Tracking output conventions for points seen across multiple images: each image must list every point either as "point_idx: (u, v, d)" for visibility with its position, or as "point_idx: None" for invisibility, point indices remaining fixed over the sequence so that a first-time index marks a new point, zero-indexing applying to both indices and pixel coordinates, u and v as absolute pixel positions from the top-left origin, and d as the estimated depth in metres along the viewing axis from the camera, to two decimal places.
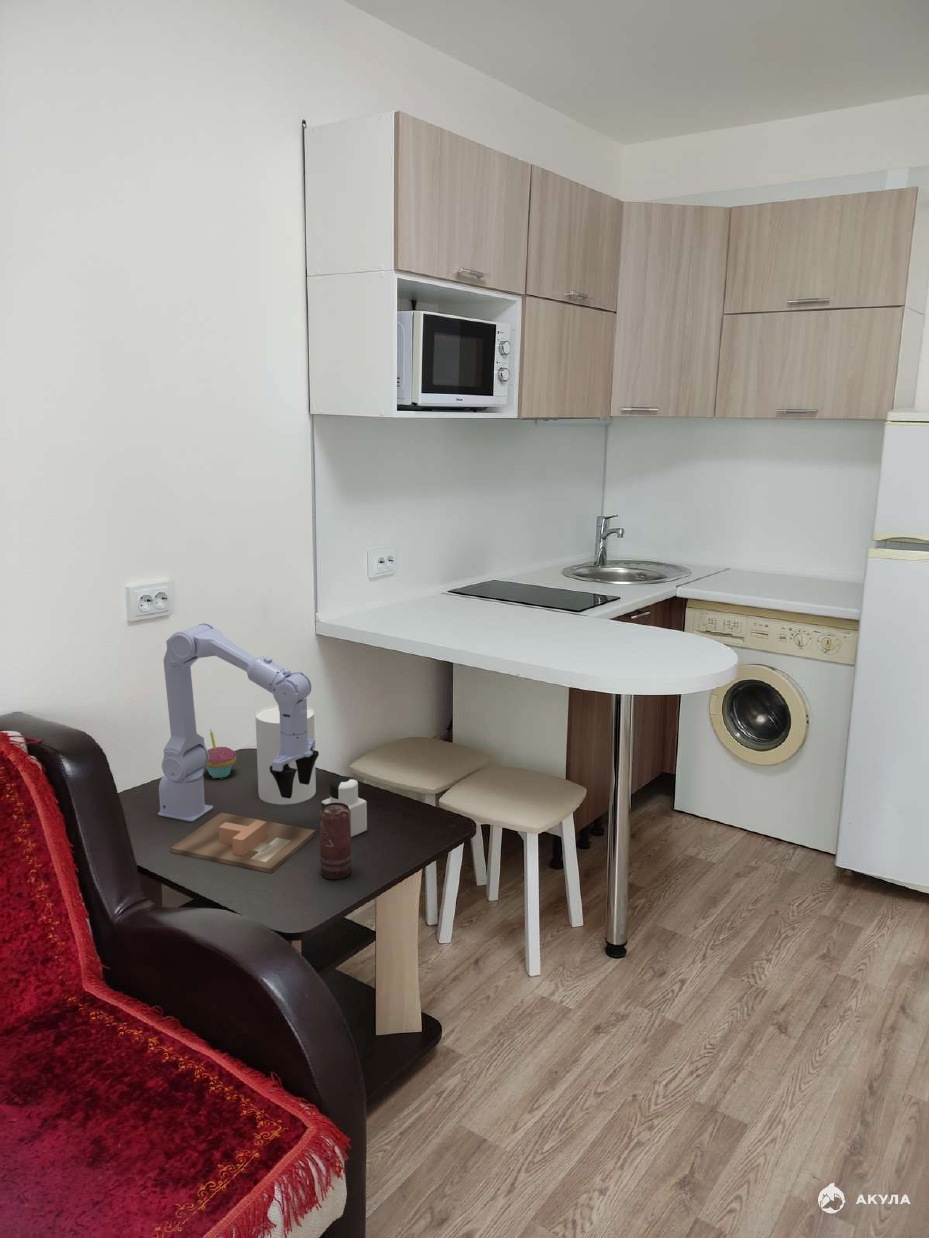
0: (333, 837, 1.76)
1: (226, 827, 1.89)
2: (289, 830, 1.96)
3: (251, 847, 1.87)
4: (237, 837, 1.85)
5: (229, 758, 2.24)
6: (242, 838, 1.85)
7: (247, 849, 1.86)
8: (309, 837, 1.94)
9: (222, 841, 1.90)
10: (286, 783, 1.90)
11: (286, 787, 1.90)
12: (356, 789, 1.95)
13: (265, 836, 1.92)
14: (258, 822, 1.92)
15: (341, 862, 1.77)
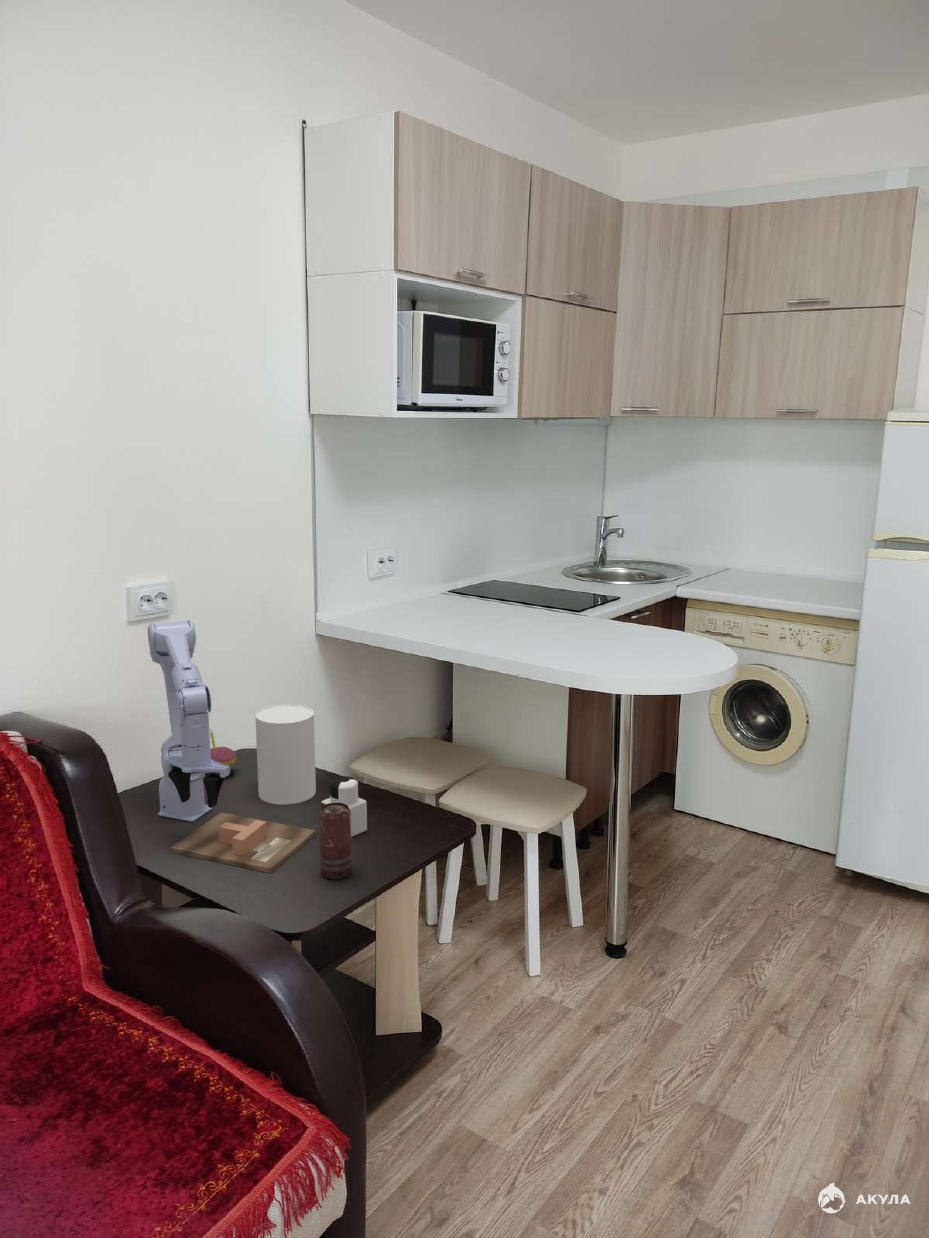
0: (333, 837, 1.76)
1: (226, 827, 1.89)
2: (289, 830, 1.96)
3: (251, 847, 1.87)
4: (237, 837, 1.85)
5: (229, 758, 2.24)
6: (242, 838, 1.85)
7: (247, 849, 1.86)
8: (309, 837, 1.94)
9: (222, 841, 1.90)
10: None
11: None
12: (356, 789, 1.95)
13: (265, 836, 1.92)
14: (258, 822, 1.92)
15: (341, 862, 1.77)
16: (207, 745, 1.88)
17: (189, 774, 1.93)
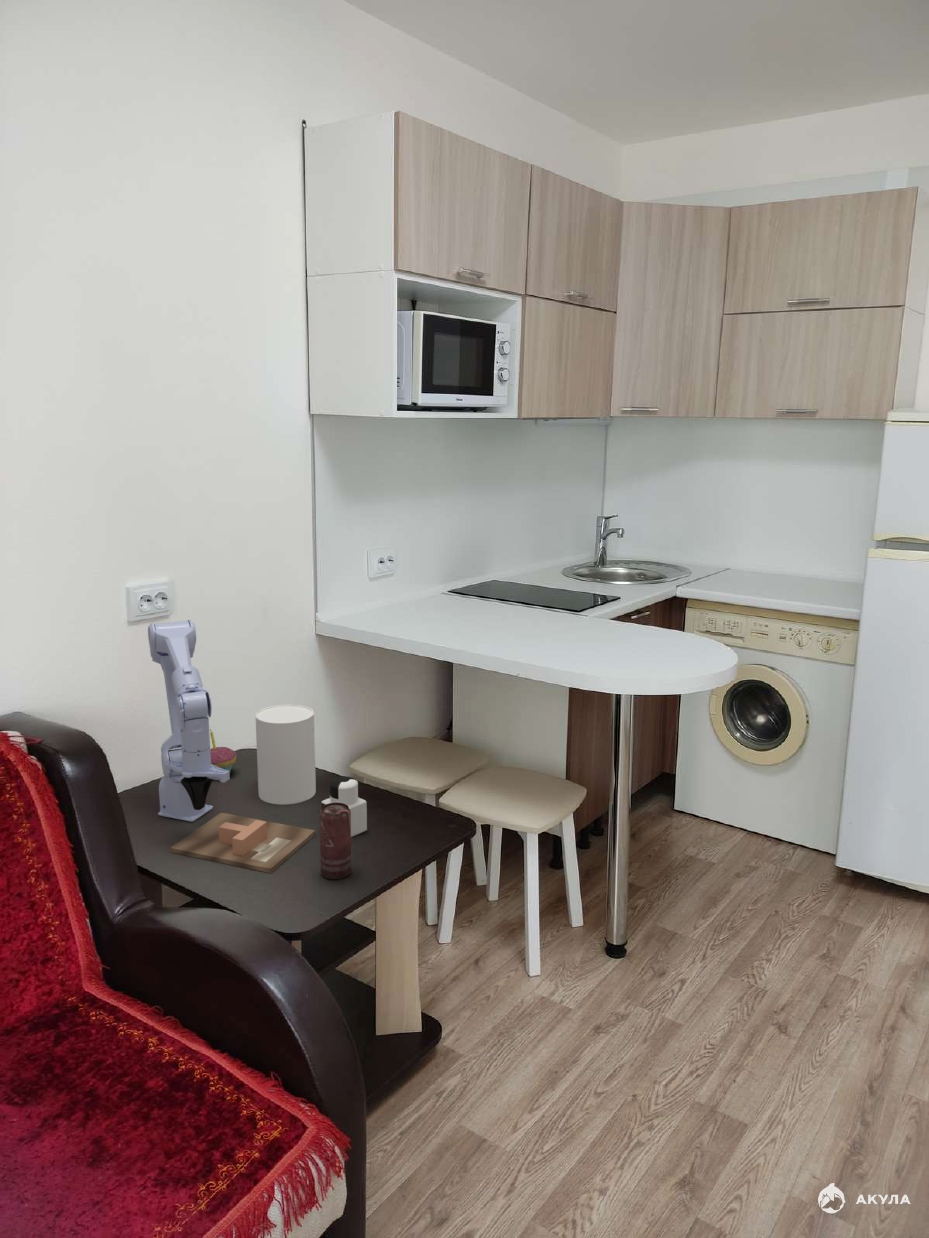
0: (333, 837, 1.76)
1: (226, 827, 1.89)
2: (289, 830, 1.96)
3: (251, 847, 1.87)
4: (237, 837, 1.85)
5: (229, 758, 2.24)
6: (242, 838, 1.85)
7: (247, 849, 1.86)
8: (309, 837, 1.94)
9: (222, 841, 1.90)
10: None
11: None
12: (356, 789, 1.95)
13: (265, 836, 1.92)
14: (258, 822, 1.92)
15: (341, 862, 1.77)
16: (207, 750, 1.88)
17: None
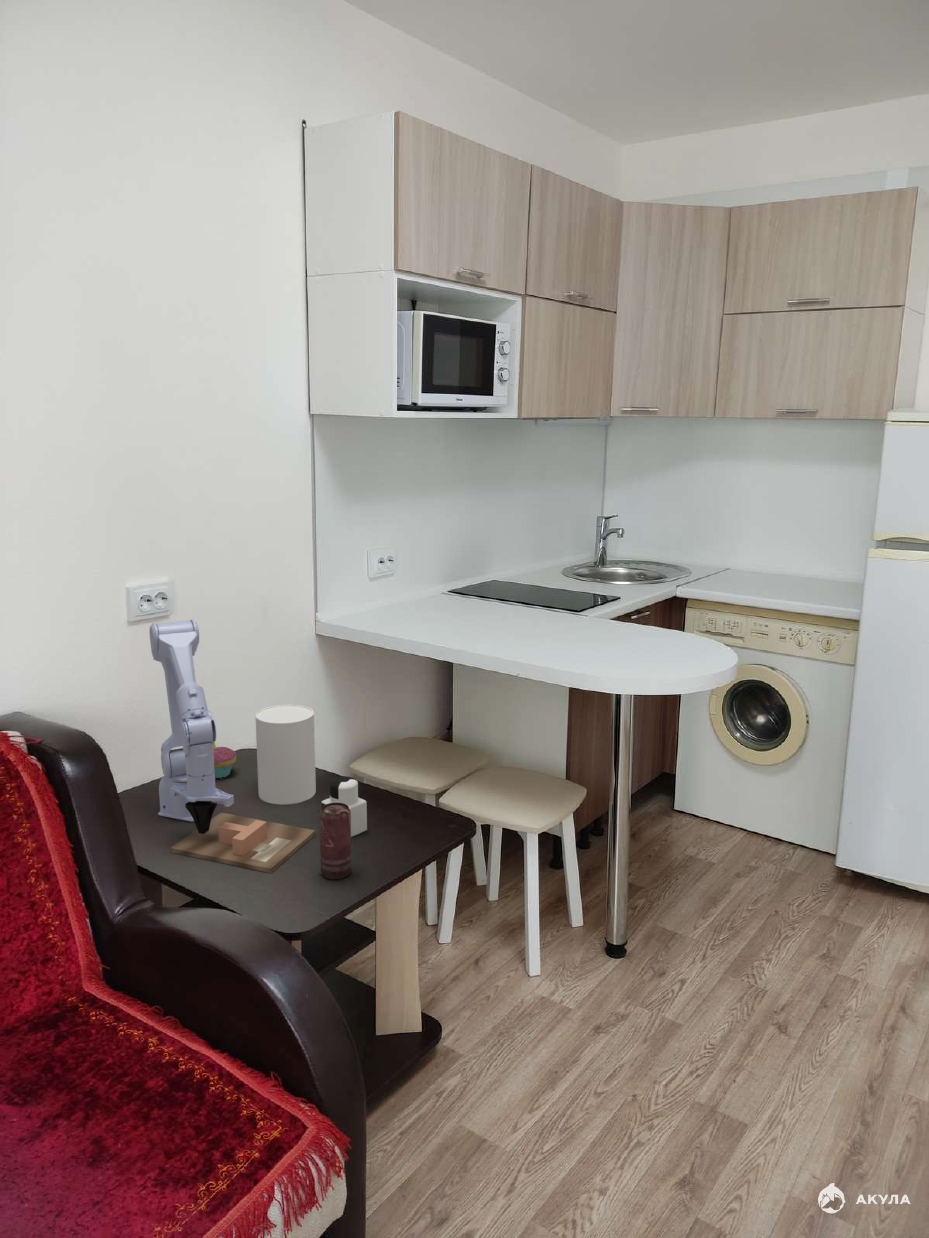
0: (333, 837, 1.76)
1: (226, 827, 1.89)
2: (289, 830, 1.96)
3: (251, 847, 1.87)
4: (237, 837, 1.85)
5: (229, 758, 2.24)
6: (242, 838, 1.85)
7: (247, 849, 1.86)
8: (309, 837, 1.94)
9: (222, 841, 1.90)
10: None
11: None
12: (356, 789, 1.95)
13: (265, 836, 1.92)
14: (258, 822, 1.92)
15: (341, 862, 1.77)
16: (212, 774, 1.89)
17: None
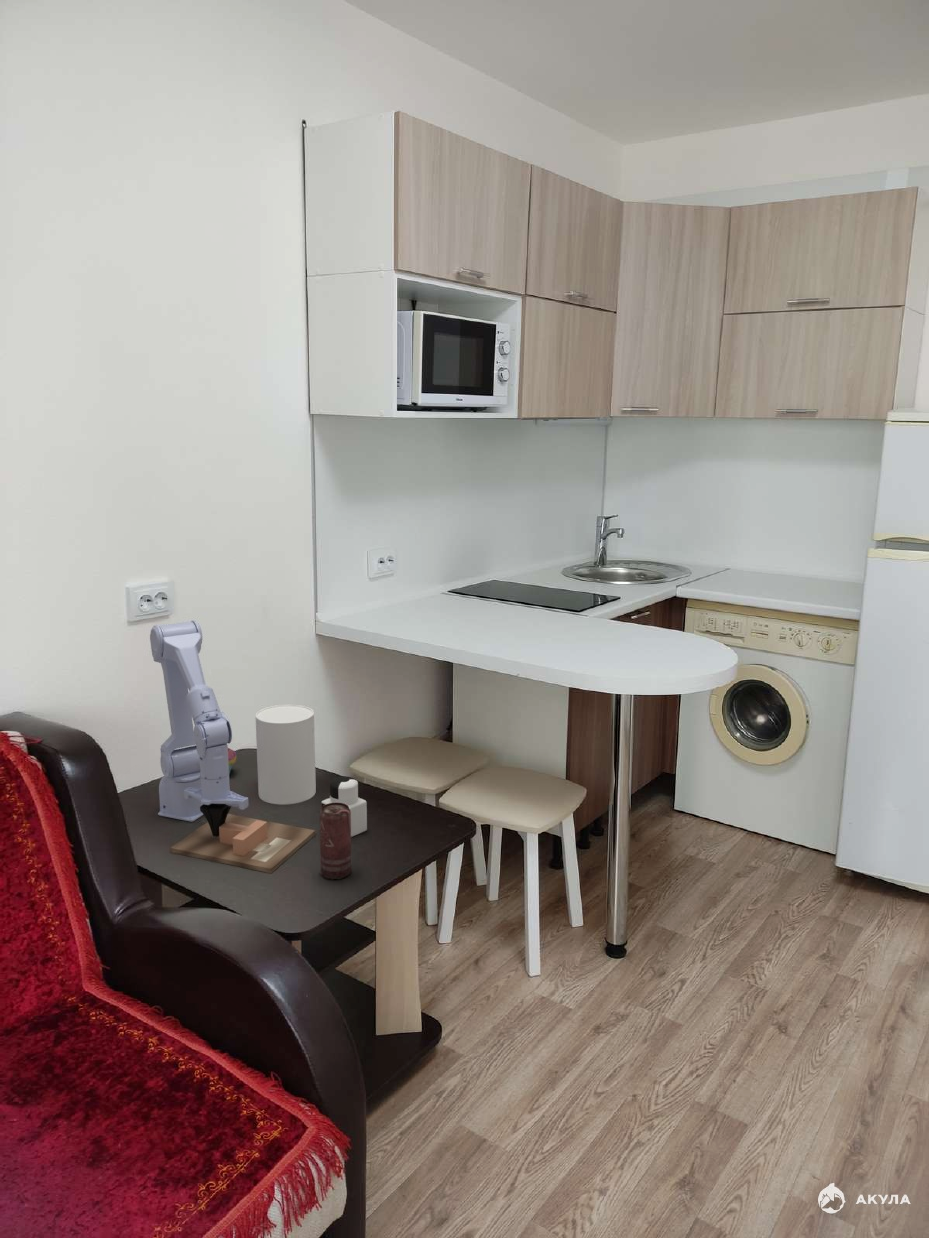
0: (333, 837, 1.76)
1: (226, 827, 1.89)
2: (289, 830, 1.96)
3: (251, 847, 1.87)
4: (237, 837, 1.85)
5: (229, 758, 2.24)
6: (242, 838, 1.84)
7: (247, 849, 1.86)
8: (309, 837, 1.94)
9: (222, 841, 1.90)
10: None
11: None
12: (356, 789, 1.95)
13: (265, 836, 1.92)
14: (259, 822, 1.92)
15: (341, 862, 1.77)
16: (226, 777, 1.88)
17: None
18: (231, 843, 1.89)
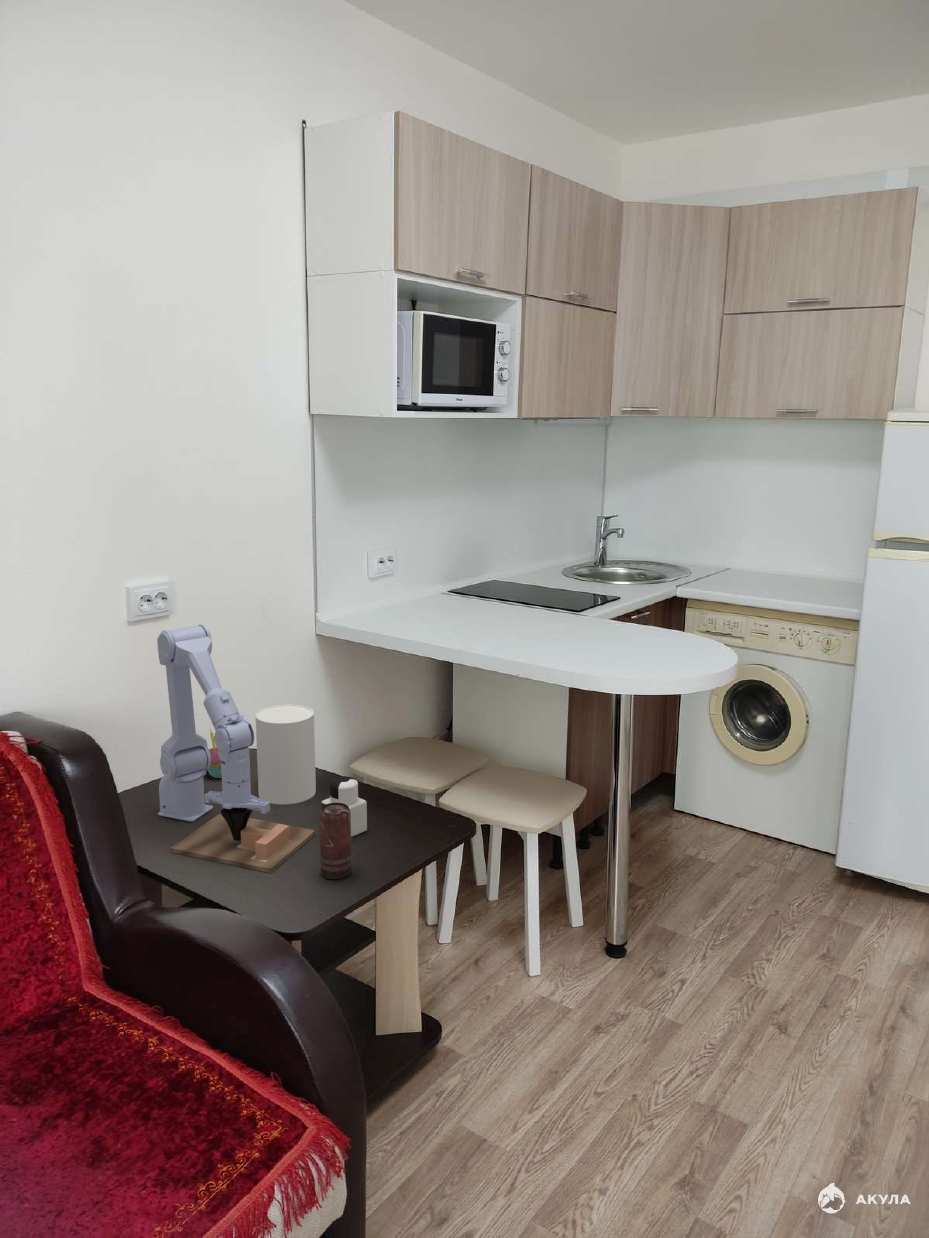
0: (333, 837, 1.76)
1: (248, 831, 1.88)
2: (289, 830, 1.96)
3: (274, 851, 1.86)
4: (260, 841, 1.83)
5: None
6: (265, 842, 1.83)
7: (270, 853, 1.84)
8: (309, 837, 1.94)
9: (244, 845, 1.88)
10: None
11: None
12: (356, 789, 1.95)
13: (287, 840, 1.90)
14: (280, 826, 1.90)
15: (341, 862, 1.77)
16: (248, 781, 1.86)
17: None
18: (253, 847, 1.88)
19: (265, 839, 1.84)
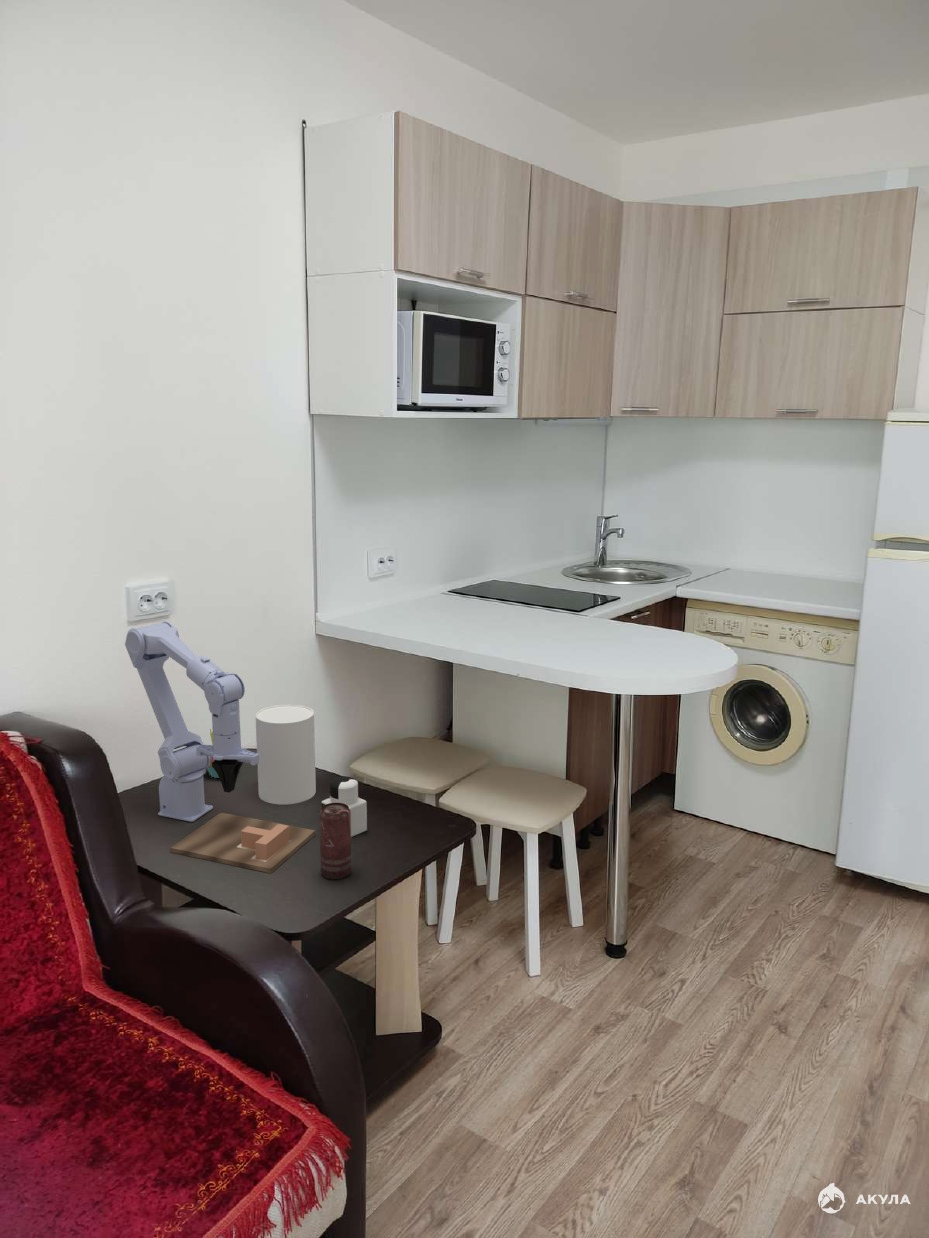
0: (333, 837, 1.76)
1: (248, 831, 1.88)
2: (289, 830, 1.96)
3: (274, 851, 1.86)
4: (260, 841, 1.83)
5: None
6: (265, 842, 1.83)
7: (270, 853, 1.84)
8: (309, 837, 1.94)
9: (244, 845, 1.88)
10: None
11: None
12: (356, 789, 1.95)
13: (287, 840, 1.90)
14: (280, 826, 1.90)
15: (341, 862, 1.77)
16: (238, 733, 1.92)
17: None
18: (253, 847, 1.88)
19: (265, 839, 1.84)
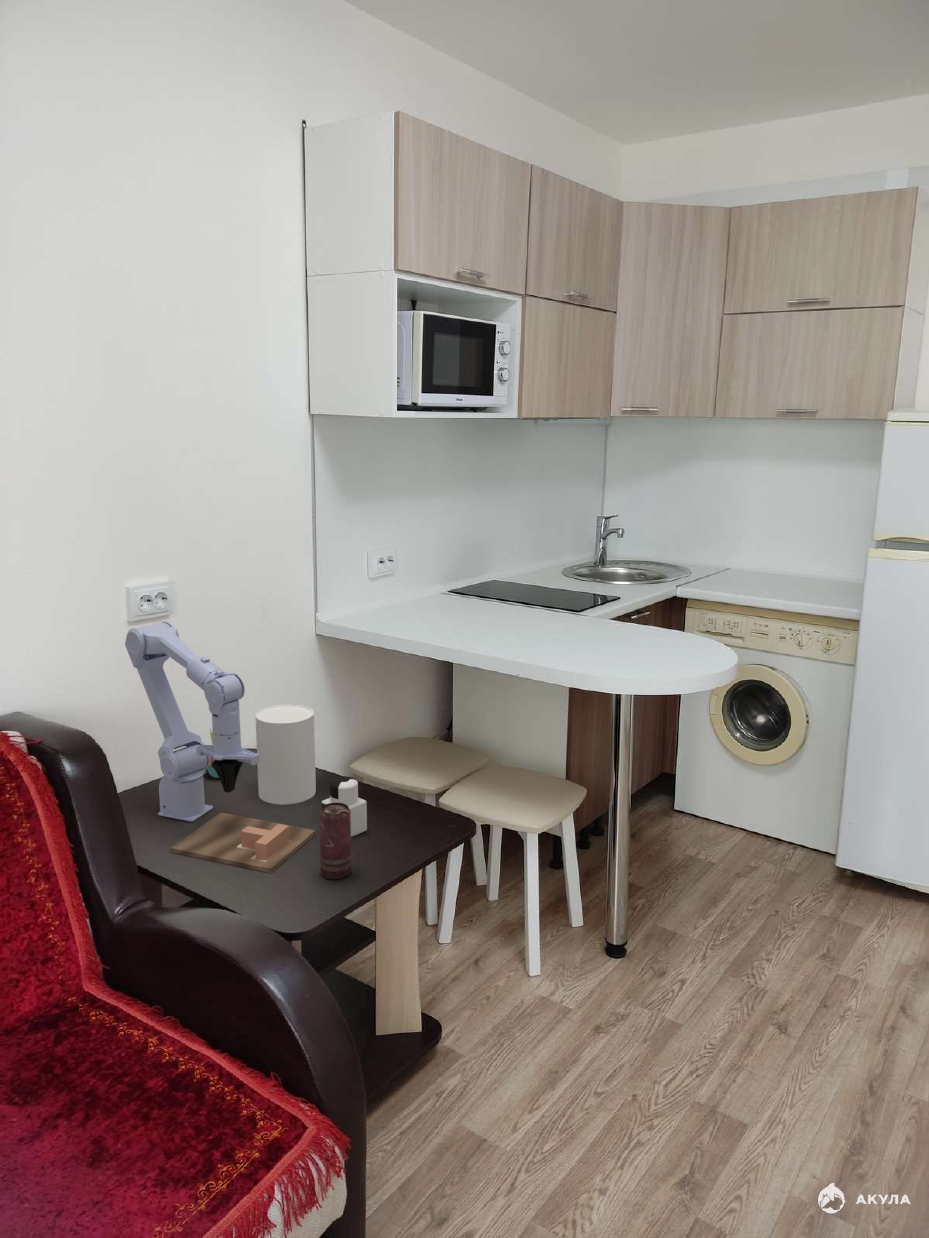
0: (333, 837, 1.76)
1: (248, 831, 1.88)
2: (289, 830, 1.96)
3: (274, 851, 1.86)
4: (260, 841, 1.83)
5: None
6: (265, 842, 1.83)
7: (270, 853, 1.84)
8: (309, 837, 1.94)
9: (244, 845, 1.88)
10: None
11: None
12: (356, 789, 1.95)
13: (287, 840, 1.90)
14: (280, 826, 1.90)
15: (341, 862, 1.77)
16: (238, 733, 1.92)
17: None
18: (253, 847, 1.88)
19: (265, 839, 1.84)
